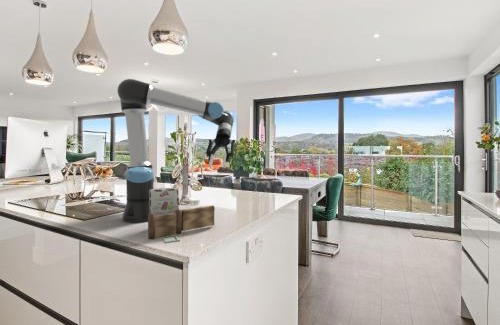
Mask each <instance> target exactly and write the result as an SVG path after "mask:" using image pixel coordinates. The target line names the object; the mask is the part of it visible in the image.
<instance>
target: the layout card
mask: <svg viewBox="0 0 500 325" xmlns="http://www.w3.org/2000/svg"><path fill="white" fill-rule="evenodd" d="M161 239H162V240H163V241H164V243H165V244H167V243H168V244H169V243H175V242H180V241H181V239H180V238H179V237H178V236H177V234H176V235H171V236H166V237H161Z"/></svg>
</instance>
